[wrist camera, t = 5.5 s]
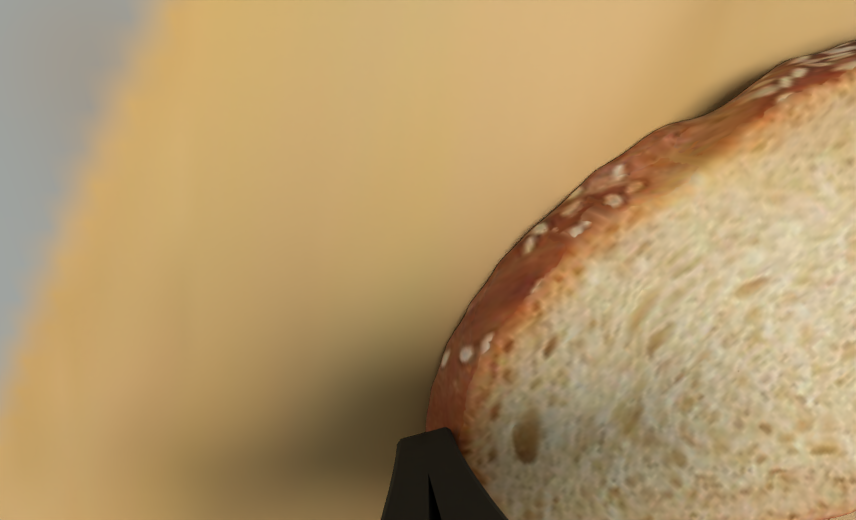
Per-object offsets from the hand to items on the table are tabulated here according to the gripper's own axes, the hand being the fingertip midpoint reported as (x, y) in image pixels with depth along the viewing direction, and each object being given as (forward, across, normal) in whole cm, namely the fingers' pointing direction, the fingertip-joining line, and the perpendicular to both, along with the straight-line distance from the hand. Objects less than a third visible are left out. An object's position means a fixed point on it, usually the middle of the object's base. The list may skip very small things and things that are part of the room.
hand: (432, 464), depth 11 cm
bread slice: (+2, -11, 0) cm, 11 cm away
